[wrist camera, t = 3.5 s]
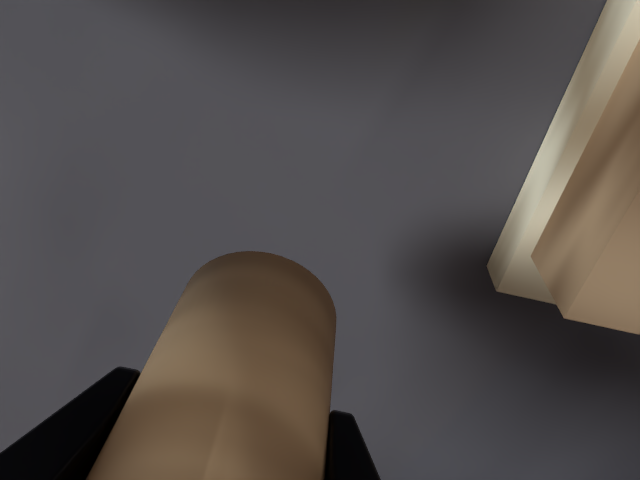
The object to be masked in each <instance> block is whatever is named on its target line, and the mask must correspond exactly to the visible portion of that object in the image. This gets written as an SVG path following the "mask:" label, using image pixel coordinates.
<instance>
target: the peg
mask: <svg viewBox="0 0 640 480" xmlns="http://www.w3.org/2000/svg"><path fill="white" fill-rule="evenodd" d="M335 333H336V311H335V307H334V304H333V301H332V299H331V296H330V294H329V293H328V291H327V289H326V288H325V286H324V285H323V284H322V283H321V282H320V281H319V279H318V278H317V277H316V276H314V275H313V274H312V273H311V272H310V271H309V270H307V269H306V268H304V267H303V266H301V265H299V264H298V263H296V262H294V261H292V260H289V259H287V258H284V257H282V256H278V255H275V254H271V253H265V252H255V251H245V252H236V253H230V254H226V255H223V256H220V257H218V258H215V259H213V260H211V261H209V262H208V263H206V264H205V265H203V266H202V267H201V268H200V269H199V270H198V271H196V273H195V274H194V275H193V276H192V278H191V279H190V281H189V282H188V284H187V286H186V288H185V290H184V292H183V294H182V296H181V298H180V299H179V301H178V303H177V305H176V307H175V309H174V311H173V313H172V315H171V317H170V319H169V321H168V322H167V324H166V326H165V328H164V330H163V332H162V334H161V336H160V338H159V340H158V342H157V344H156V346H155V347H154V349H153V351H152V353H151V355H150V357H149V359H148V361H147V363H146V365H145V367H144V369H143V371H142V372H141V374H140V376H139V378H138V380H137V382H136V384H135V386H134V388H133V390H132V392H131V394H130V396H129V397H128V399H127V401H126V403H125V405H124V407H123V409H122V411H121V413H120V415H119V417H118V419H117V420H116V422H115V424H114V426H113V428H112V430H111V432H110V434H109V436H108V438H107V440H106V442H105V444H104V445H103V447H102V449H101V451H100V453H99V455H98V457H97V459H96V461H95V463H94V465H93V467H92V469H91V470H90V472H89V474H88V476H87V478H86V480H325V468H326V455H327V441H328V427H329V415H330V401H331V388H332V374H333V360H334V347H335Z"/></svg>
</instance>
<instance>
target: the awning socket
mask: <svg viewBox="0 0 640 480" xmlns="http://www.w3.org/2000/svg"><path fill="white" fill-rule="evenodd" d="M487 269H488V271H489V274H490V277H491V279H492V282H493V284H494V287H495V290H496V291H497V292H501V293H506V294H511V295H515V296H520V297H524V298H529V299H534V300H538V301H543V302H547V303H552V304H556V305H557V306H558V308H559V310H560V312H561V314H562V316H563V318H565V319H570V320H574V321H579V322H583V323H588V324H593V325H597V326H602V327H606V328H611V329H616V330H620V331H625V332H630V333H634V334H639V335H640V0H607V2H606V4H605V6H604V8H603V11H602V13H601V15H600V17H599V19H598V22H597V24H596V26H595V28H594V30H593V33H592V35H591V37H590V39H589V41H588V44H587V46H586V48H585V50H584V52H583V55H582V57H581V59H580V61H579V63H578V66H577V68H576V70H575V72H574V74H573V77H572V79H571V81H570V83H569V85H568V88H567V90H566V92H565V94H564V96H563V99H562V101H561V103H560V105H559V107H558V110H557V112H556V114H555V116H554V118H553V121H552V123H551V125H550V127H549V129H548V132H547V134H546V136H545V138H544V140H543V143H542V145H541V147H540V149H539V151H538V154H537V156H536V158H535V160H534V162H533V165H532V167H531V169H530V171H529V173H528V176H527V178H526V180H525V182H524V184H523V187H522V189H521V191H520V193H519V195H518V198H517V200H516V202H515V204H514V206H513V209H512V211H511V213H510V215H509V217H508V220H507V222H506V224H505V226H504V228H503V231H502V233H501V235H500V237H499V239H498V242H497V244H496V246H495V248H494V250H493V253H492V255H491V257H490V259H489V261H488V264H487Z"/></svg>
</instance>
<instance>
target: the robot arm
mask: <svg viewBox="0 0 640 480" xmlns="http://www.w3.org/2000/svg"><path fill="white" fill-rule="evenodd" d="M139 376H140V372H139V371H138V370H136V369H131V368H126V367H117V368H115V369H114V370H112V371H111V372H109V373H108V374H107V375H105V376H104V377H103V378H101V379H100V380H99V381H97V382H96V383H95V384H93V385H92V386H90V387H89V388H88V389H86V390H85V391H84V392H82V393H81V394H80V395H78V396H77V397H76V398H74V399H73V400H71V401H70V402H69V403H67V404H66V405H65V406H63V407H62V408H61V409H59V410H58V411H57V412H55V413H54V414H52V415H51V416H50V417H48V418H47V419H46V420H44V421H43V422H42V423H40V424H39V425H38V426H36V427H35V428H34V429H32V430H31V431H29V432H28V433H27V434H25V435H24V436H23V437H21V438H20V439H19V440H17V441H16V442H15V443H13V444H12V445H10V446H9V447H8V448H6V449H5V450H4V451H2V452H1V453H0V480H86V478H87V476H88V474H89V472H90V470H91V469H92V467H93V465H94V463H95V461H96V459H97V457H98V455H99V453H100V451H101V449H102V447H103V445H104V444H105V442H106V440H107V438H108V436H109V434H110V432H111V430H112V428H113V426H114V424H115V422H116V420H117V419H118V417H119V415H120V413H121V411H122V409H123V407H124V405H125V403H126V401H127V399H128V397H129V396H130V394H131V392H132V390H133V388H134V386H135V384H136V382H137V380H138V378H139ZM325 480H381V479H380V477H379V475H378V472H377V470H376V468H375V465H374V463H373V461H372V458H371V456H370V453H369V451H368V449H367V446H366V444H365V442H364V439H363V437H362V435H361V432H360V430H359V428H358V425H357V423H356V421H355V418H354V416H353V415H352V414H350V413H346V412H341V411H337V410H333V411H331V413H330V415H329V427H328V441H327V455H326V468H325Z"/></svg>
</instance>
